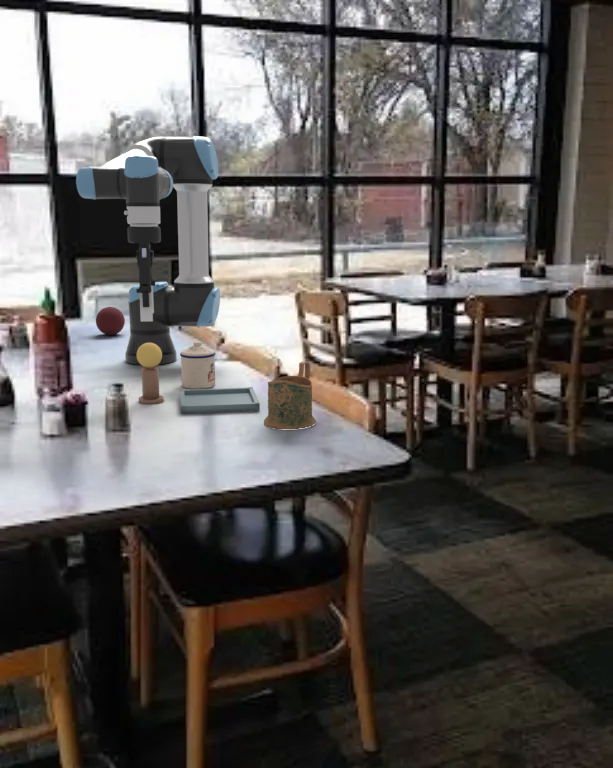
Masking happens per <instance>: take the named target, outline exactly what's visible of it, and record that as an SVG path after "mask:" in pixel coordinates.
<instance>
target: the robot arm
mask: <svg viewBox="0 0 613 768" xmlns="http://www.w3.org/2000/svg"><path fill="white" fill-rule="evenodd" d="M217 155H218V154H217V151H216V148H215V145H214V142H213V140H211V139H210V138H209V137H207V136H197V135H191V136H190V135H187V136H184V135H183V136H182V135H181V136H162V135H161V136H160V135H159V136H155V137H149V138H146V139H142V140H139V141H137V142H135V143H133V144H131V145H128V147H127V148H126V149H124V151H123V153H122V154H120V155H118V156H116V157H114V158H113V159H111V160H108V161H107V162H104V163H103V164H101V165H99V166H92V165H90V166H81V167H80V168H79V169H78V170H77V173H76V179H75V184H76V189H77V192H78V194H79V196H80V197H81V198H83V199H89V200H111V199H112V200H114V199H115V200H117V199H118V200H119V199H120V200H125V204H126V209H127V210H124V212H123V214H124V216H127V217H126V221H127V224H128V225H129V226H127V228H126V229H127V230H126V231H127V242H128V243H130V244H139V246H138V249H137V250H135V251H136V252H135V258H136V262H137V263H136V264H137V265H136V266H137V269H138V279H139V281H138V283H139V284H137V285H132V286H131V287H130V289H129V291H128V300H127V301H128V302H127V303H128V313H129V330H130V331H129V332H130V335H129V340H128V343H127V347H126V350H125V355H124V356H125V362H126V363H128V364H130V365H137V366H138V365H140V366H142V365H141V364H140V363H139V362H138V360H137V350H138V348H139V347H140V346H141V345H143V344H144V343H154V344H156V345H157V346H158V347H159V348H160V349H161V352H162V359H161V361H160V363H159V364H158V365H164V364H170V363H173V362H176V361H177V360H178V359H177V358H178V357H177V350H176V347H175V345H174V342H173V339H172V335H171V334H170V333H171V332H170V329H171V328H170V327H187V328H188V327H191V328H193V327H194V328H195V327H196V328H200V327H201V328H202V327H203V328H206V327H212V326H213V325H214V324H215V323H216V321H217V319H218V315H219V310H220V303H221V291H220V288H219V287H217V286H215V280H214V279H213V278H212V277H211V276H210V274H209V272H210V271H209V269H210V267H209V221H208V219H209V218H208V216H209V215H208V209H209V208H208V192H209V190H210V189H211V188H212V187H213V180H216V179H217V178H218V177H219V162H218V156H217ZM173 189H175V191H176V197H177V199H176V200H177V204H176V205H177V235H178V236H177V237H178V239H177V240H178V242H177V243H178V246H177V247H178V273H179V274H178V276H177V277H176V278H175V279H174V281H173V282H174V283H173V285H174V286H170V285H169V283H168V282H167V281H153V280H154V279H153V270H152V269H153V268H154V258H155V253H154V252H155V251H154V250H152V245H151V244H157V243H158V244H159V243H161V241H162V235H161V227H160V226H159V225H160V224H161V206H160V200H162V199H165V198H167V197H169V196H170V194H171V193H172V191H173Z"/></svg>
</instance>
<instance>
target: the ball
mask: <svg viewBox="0 0 613 768" xmlns="http://www.w3.org/2000/svg"><path fill="white" fill-rule="evenodd" d="M161 359H162V352H161V349H160V348H159V347H158V346H157V345H156V344H154V343H144V344H143V345H141V346H140V347H139V348H138V350H137V360H138V362H139V363H140V364H141V365H140V366H142V367H143V366H144V367H147V368H151V367H154V366H157V367H158V365H160V364H159V363H160V361H161Z"/></svg>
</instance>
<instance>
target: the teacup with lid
mask: <svg viewBox="0 0 613 768" xmlns="http://www.w3.org/2000/svg"><path fill="white" fill-rule="evenodd" d="M179 355H180V365H181V370H180V371H181V386H182V387H183V388H185V389H188V390H190V389H211V388H213V387H214V386H215V385H216V370H215V368H216V367H215V365H216V363H215V361H216V360H215V355H216V351H215V350H214V349H212V348H209V347H207V346H205V345H202V341H193V344H192V345H190V346H188V348H185V349H181V351H180V353H179Z"/></svg>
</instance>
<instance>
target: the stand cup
mask: <svg viewBox="0 0 613 768" xmlns="http://www.w3.org/2000/svg"><path fill="white" fill-rule="evenodd" d="M140 370H141V388H142V396H139V397H138V403H140V404H141V405H142V404H143V405H157V404H161V403H163V402H164V401H165V397H164V396H163V395H160V377H159V376H160V375H159V371H160V370H159V367H158V365H157V366H154V367H151V368H147V367H144V366H142V368H141V369H140Z"/></svg>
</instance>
